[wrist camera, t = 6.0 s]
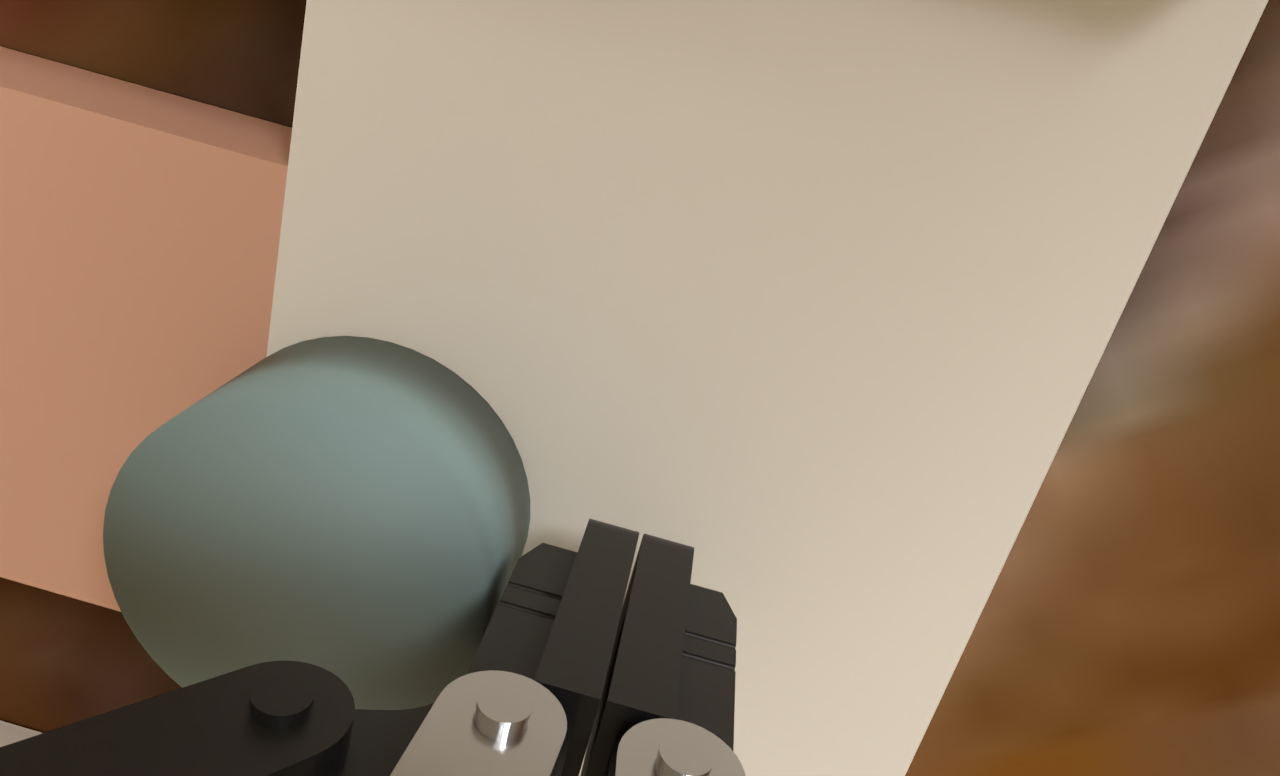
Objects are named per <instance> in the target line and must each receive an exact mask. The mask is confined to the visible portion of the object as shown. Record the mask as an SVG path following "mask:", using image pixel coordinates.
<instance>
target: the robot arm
mask: <svg viewBox="0 0 1280 776" xmlns="http://www.w3.org/2000/svg"><path fill="white" fill-rule="evenodd" d="M638 537H639V532H637V531H633V530H630V529H626V528H622V527H619V526H615V525H612V524H608V523H604V522H601V521H597V520H594V519H589V521H588V524H587V527H586V530H585V533H584V536H583V538H582V541H581V544H580V547H579V550H578V552H574V551H571V550H567V549H564V548H560V547H556V546H553V545H549V544H546V543H541V544H540V545H538V546H537V547H535V548H534V549H532V550H531V551H529V552H528V553H526V554H525V555H523V556H522V557H520V558H519V559H518V561H517V563H516V566H515V568H514V570H513V572H512V574H511V577H510V579H509V581H508V584H507V586H506V588H505V590H504V592H503V594H502V596H501V599H500V601H499V605H497V607H496V610H495V612H494V614H493V616H492V618H491V621H490V623H489V625H488V627H487V629H486V631H485V634H484V636H483V638H482V640H481V642H480V645H479V647H478V649H477V651H476V653H475V656H474V658H473V660H472V662H471V664H470V667H469V669H468V671H467V673H466V675H464V676H462V677H459V678H458V679H456V680H454V681H452V682H451V683H450V684H449V685H447V686H446V687H445V688H444V689H443V691H442V692H441V693H440V695H439V696H438V698H437V700H436V701H435V702H434V703H431V704H428V705H425V706H421V707H417V708H412V709H405V710H365V709H355V704H354V699H353V696H352V693H351V691H350V690H349V688H348V687H347V685H346V684H345V683H344V682H343V681H342V680H341V679H340V678H339V677H337V676H336V675H335V674H333V673H332V672H330V671H328V670H326V669H324V668H322V667H319V666H316V665H313V664H309V663H304V662H299V661H287V660H285V661H270V662H263V663H258V664H255V665H251V666H248V667H244V668H241V669H238V670H235V671H232V672H229V673H226V674H223V675H220V676H217V677H214V678H211V679H208V680H205V681H202V682H199V683H195V684H192V685H189V686H186V687H183V688H180V689H177V690H174V691H171V692H168V693H165V694H162V695H159V696H156V697H153V698H150V699H146V700H143V701H140V702H137V703H134V704H131V705H128V706H125V707H122V708H119V709H116V710H113V711H110V712H107V713H104V714H101V715H97V716H94V717H91V718H88V719H85V720H82V721H79V722H76V723H73V724H70V725H67V726H64V727H61V728H58V729H55V730H52V731H48V732H45V733H42V734H39V735H36V736H33V737H30V738H27V739H24V740H21V741H18V742H15V743H12V744H9V745H6V746H2V747H0V776H579V773H580V770H581V766H582V763H583V766H582V770H581V775H580V776H746V775H745V771H744V769H743V766H742V764H741V762H740V761H739V759H738V757H737V756H736V754H735V753H734V752H733V747H734V711H735V674H736V671H735V666H736V650H735V648H736V637H737V618H736V616H735V614H734V613H733V611H732V609H731V607H730V605H729V603H728V602H727V600H726V598H725V596H724V594H723V593H722V592H718V591H715V590H711V589H708V588H704V587H700V586H697V585H693V584H690V582H691V574H692V565H693V556H694V547H691V546H688V545H684V544H681V543H677V542H673V541H670V540H666V539H663V538H659V537H655V536H652V535H648V534H645V533H644V534H643V537H642V540H641V544H640V547H639V550H638V554H637V557H636V561H635V564H634V568H633V571H632V575H631V578H630V582H629V585H628V580H629V576H630V572H631V567H632V563H633V559H634V554H635V550H636V546H637V541H638ZM627 585H628V589H627ZM626 589H627V592H626ZM625 593H626V596H625ZM624 597H625V599H624ZM623 602H624V603H623ZM585 752H586V753H585ZM584 756H585V758H584ZM583 759H584V762H583Z"/></svg>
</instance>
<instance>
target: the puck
mask: <svg viewBox="0 0 1280 776" xmlns="http://www.w3.org/2000/svg"><path fill="white" fill-rule="evenodd" d="M529 524H530V494H529V487H528V480H527V476H526V473H525V469H524V466H523V462H522V459H521V456H520V454H519V452H518V450H517V447H516V445H515V443H514V440H513V438H512V437H511V435H510V433H509V432H508V430H507V428H506V427H505V425H504V423H503V422H502V420H501V419H500V418H499V416H498V415H497V414H496V412H495V411H494V410H493V408H492V407H491V406H490V405H489V403H488V402H487V401H486V400H485V399H484V398H483V397H482V396H481V395H480V394H479V393H478V392H477V391H476V390H475V389H474V388H473V387H472V386H471V385H470V384H468V383H467V382H466V381H465V380H463V379H462V378H461V377H460V376H458V375H457V374H456V373H455V372H453V371H452V370H450V369H449V368H447V367H445V366H444V365H442V364H441V363H439V362H437V361H436V360H434V359H432V358H430V357H428V356H426V355H424V354H422V353H419V352H417V351H415V350H413V349H410V348H407V347H404V346H401V345H398V344H395V343H392V342H388V341H383V340H379V339H374V338H369V337H356V336H333V337H321V338H316V339H311V340H306V341H302V342H299V343H296V344H293V345H291V346H288V347H285V348H283V349H281V350H279V351H277V352H275V353H273V354H271V355H269V356H267V357H266V358H264V359H263V360H261V361H259V362H258V363H256V364H255V365H253V366H252V367H250V368H249V369H247V370H246V371H244V372H243V373H241V374H239V375H238V376H236V377H235V378H233V379H232V380H230V381H229V382H227V383H226V384H224V385H223V386H221V387H219V388H218V389H216V390H215V391H213V392H212V393H210V394H209V395H207V396H206V397H204V398H203V399H201V400H199V401H198V402H196V403H195V404H193V405H192V406H190V407H189V408H187V409H186V410H184V411H183V412H181V413H179V414H178V415H176V416H175V417H173V418H172V419H170V420H169V421H167V422H166V423H164V424H163V425H161V426H160V427H159V428H157V429H156V430H155V431H153V432H152V433H151V434H149V435H148V436H147V437H146V438H145V439H144V440H143V441H142V442H141V443H140V444H139V445H138V446H137V447H136V448H135V449H134V450H133V451H132V452H131V454H130V455H129V457H128V458H127V460H126V461H125V463H124V464H123V466H122V467H121V469H120V470H119V472H118V475H117V477H116V479H115V481H114V483H113V486H112V488H111V490H110V494H109V498H108V502H107V505H106V509H105V516H104V526H103V547H104V558H105V563H106V569H107V574H108V578H109V581H110V584H111V587H112V590H113V593H114V597H115V599H116V601H117V603H118V606H119V608H120V610H121V612H122V614H123V616H124V618H125V620H126V622H127V624H128V625H129V627H130V628H131V630H132V632H133V633H134V635H135V637H136V638H137V640H138V641H139V642H140V644H141V645H142V646H143V648H144V649H145V650H146V651H147V653H148V654H149V655H150V657H151V658H152V659H153V660H154V661H155V662H156V663H157V664H158V665H159V666H160V668H161V669H162V670H163V671H164V672H165V673H166V674H167V675H168V676H169V677H170V678H171V679H173V680H174V681H175V682H176V683H177V684H178V685H180V686H181V687H182V688H183V687H186V686H189V685H192V684H195V683H199V682H202V681H205V680H208V679H211V678H214V677H217V676H220V675H223V674H226V673H229V672H232V671H235V670H238V669H241V668H244V667H248V666H251V665H255V664H258V663H263V662H270V661H285V660H287V661H299V662H304V663H309V664H313V665H316V666H319V667H322V668H324V669H326V670H328V671H330V672H332V673H333V674H335V675H336V676H337V677H339V678H340V679H341V680H342V681H343V682H344V683H345V684H346V685H347V687H348V688H349V690H350V691H351V693H352V696H353V699H354V704H355V709H365V710H405V709H412V708H417V707H421V706H425V705H428V704H431V703H434V702H435V701H436V700H437V698H438V696H439V695H440V693H441V692H442V691H443V689H444V688H445V687H446V686H447V685H449V684H450V683H451V682H452V681H454V680H456V679H458V678H459V677H462V676H464V675H466V673H467V671H468V669H469V667H470V664H471V662H472V660H473V658H474V656H475V653H476V651H477V649H478V647H479V645H480V642H481V640H482V638H483V636H484V634H485V631H486V629H487V627H488V625H489V623H490V621H491V618H492V616H493V614H494V612H495V610H496V607H497V605H499V601H500V599H501V596H502V594H503V592H504V590H505V588H506V586H507V584H508V581H509V579H510V577H511V574H512V572H513V570H514V568H515V566H516V563H517V561H518V559H519V558H520V557H522V554H523V551H524V547H525V544H526V541H527V537H528V531H529Z"/></svg>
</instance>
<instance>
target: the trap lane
mask: <svg viewBox="0 0 1280 776" xmlns="http://www.w3.org/2000/svg"><path fill="white" fill-rule="evenodd" d="M1267 2H1268V0H307V2H306V11H305V19H304V28H303V37H302V46H301V55H300V64H299V73H298V81H297V90H296V99H295V108H294V117H293V126H292V128H291V127H287V126H283V125H280V124H276V123H273V122H269V121H266V120H262V119H258V118H255V117H251V116H248V115H244V114H241V113H237V112H233V111H230V110H226V109H223V108H219V107H216V106H212V105H208V104H205V103H201V102H198V101H194V100H190V99H187V98H183V97H180V96H176V95H173V94H169V93H165V92H162V91H158V90H155V89H151V88H148V87H144V86H140V85H137V84H133V83H130V82H126V81H123V80H119V79H115V78H112V77H108V76H105V75H101V74H98V73H94V72H90V71H87V70H83V69H80V68H76V67H73V66H69V65H65V64H62V63H58V62H55V61H51V60H47V59H44V58H40V57H37V56H33V55H30V54H26V53H22V52H19V51H15V50H12V49H8V48H5V47H1V46H0V577H2V578H6V579H9V580H12V581H16V582H19V583H23V584H26V585H30V586H33V587H37V588H40V589H44V590H47V591H50V592H54V593H57V594H61V595H64V596H68V597H71V598H75V599H78V600H82V601H85V602H88V603H92V604H95V605H99V606H102V607H106V608H109V609H113V610H116V611H120V612H121V610H120V608H119V606H118V603H117V601H116V599H115V597H114V593H113V590H112V587H111V584H110V581H109V578H108V574H107V569H106V563H105V558H104V547H103V526H104V516H105V509H106V505H107V502H108V498H109V494H110V490H111V488H112V486H113V483H114V481H115V479H116V477H117V475H118V472H119V470H120V469H121V467H122V466H123V464H124V463H125V461H126V460H127V458H128V457H129V455H130V454H131V452H132V451H133V450H134V449H135V448H136V447H137V446H138V445H139V444H140V443H141V442H142V441H143V440H144V439H145V438H146V437H147V436H148V435H149V434H151V433H152V432H153V431H155V430H156V429H157V428H159V427H160V426H161V425H163V424H164V423H166V422H167V421H169V420H170V419H172V418H173V417H175V416H176V415H178V414H179V413H181V412H183V411H184V410H186V409H187V408H189V407H190V406H192V405H193V404H195V403H196V402H198V401H199V400H201V399H203V398H204V397H206V396H207V395H209V394H210V393H212V392H213V391H215V390H216V389H218V388H219V387H221V386H223V385H224V384H226V383H227V382H229V381H230V380H232V379H233V378H235V377H236V376H238V375H239V374H241V373H243V372H244V371H246V370H247V369H249V368H250V367H252V366H253V365H255V364H256V363H258V362H259V361H261V360H263V359H264V358H266V357H267V356H269V355H271V354H273V353H275V352H277V351H279V350H281V349H283V348H285V347H288V346H291V345H293V344H296V343H299V342H302V341H306V340H311V339H316V338H321V337H333V336H356V337H369V338H374V339H379V340H383V341H388V342H392V343H395V344H398V345H401V346H404V347H407V348H410V349H413V350H415V351H417V352H419V353H422V354H424V355H426V356H428V357H430V358H432V359H434V360H436V361H437V362H439V363H441V364H442V365H444V366H445V367H447V368H449V369H450V370H452V371H453V372H455V373H456V374H457V375H458V376H460V377H461V378H462V379H463V380H465V381H466V382H467V383H468V384H470V385H471V386H472V387H473V388H474V389H475V390H476V391H477V392H478V393H479V394H480V395H481V396H482V397H483V398H484V399H485V400H486V401H487V402H488V403H489V405H490V406H491V407H492V408H493V410H494V411H495V412H496V414H497V415H498V416H499V418H500V419H501V420H502V422H503V423H504V425H505V427H506V428H507V430H508V432H509V433H510V435H511V437H512V438H513V440H514V443H515V445H516V447H517V450H518V452H519V454H520V456H521V459H522V462H523V466H524V469H525V473H526V476H527V480H528V487H529V494H530V524H529V531H528V537H527V541H526V544H525V547H524V551H523V554H522V556H523V555H525V554H526V553H528V552H529V551H531V550H532V549H534V548H535V547H537V546H538V545H540V544H541V543H546V544H549V545H553V546H556V547H560V548H564V549H567V550H571V551H574V552H578V550H579V547H580V544H581V541H582V538H583V536H584V533H585V530H586V527H587V524H588V521H589V519H594V520H597V521H601V522H604V523H608V524H612V525H615V526H619V527H622V528H626V529H630V530H633V531H637V532H639V537H638V541H637V546H636V550H635V554H634V559H633V563H632V567H631V572H630V576H629V580H628V585H629V582H630V578H631V575H632V571H633V568H634V564H635V561H636V557H637V554H638V550H639V547H640V544H641V540H642V537H643V534H644V533H645V534H648V535H652V536H655V537H659V538H663V539H666V540H670V541H673V542H677V543H681V544H684V545H688V546H691V547H694V556H693V565H692V574H691V582H690V584H693V585H697V586H700V587H704V588H708V589H711V590H715V591H718V592H722V593H723V594H724V596H725V598H726V600H727V602H728V603H729V605H730V607H731V609H732V611H733V613H734V614H735V616H736V618H737V637H736V648H735V650H736V666H735V671H736V674H735V711H734V747H733V752H734V753H735V754H736V756H737V757H738V759H739V761H740V762H741V764H742V766H743V769H744V771H745V775H746V776H905V774H906V772H907V770H908V768H909V766H910V764H911V762H912V760H913V757H914V755H915V753H916V751H917V749H918V747H919V745H920V742H921V740H922V738H923V736H924V734H925V732H926V730H927V728H928V725H929V723H930V721H931V719H932V717H933V715H934V713H935V710H936V708H937V706H938V704H939V702H940V700H941V698H942V696H943V693H944V691H945V689H946V687H947V685H948V683H949V681H950V678H951V676H952V674H953V672H954V670H955V668H956V666H957V664H958V661H959V659H960V657H961V655H962V653H963V651H964V649H965V646H966V644H967V642H968V640H969V638H970V636H971V634H972V632H973V629H974V627H975V625H976V623H977V621H978V619H979V617H980V614H981V612H982V610H983V608H984V606H985V604H986V602H987V600H988V597H989V595H990V593H991V591H992V589H993V587H994V585H995V582H996V580H997V578H998V576H999V574H1000V572H1001V570H1002V568H1003V565H1004V563H1005V561H1006V559H1007V557H1008V555H1009V553H1010V550H1011V548H1012V546H1013V544H1014V542H1015V540H1016V538H1017V536H1018V533H1019V531H1020V529H1021V527H1022V525H1023V523H1024V521H1025V519H1026V516H1027V514H1028V512H1029V510H1030V508H1031V506H1032V504H1033V501H1034V499H1035V497H1036V495H1037V493H1038V491H1039V489H1040V487H1041V484H1042V482H1043V480H1044V478H1045V476H1046V474H1047V472H1048V469H1049V467H1050V465H1051V463H1052V461H1053V459H1054V457H1055V455H1056V452H1057V450H1058V448H1059V446H1060V444H1061V442H1062V440H1063V437H1064V435H1065V433H1066V431H1067V429H1068V427H1069V425H1070V423H1071V420H1072V418H1073V416H1074V414H1075V412H1076V410H1077V408H1078V405H1079V403H1080V401H1081V399H1082V397H1083V395H1084V393H1085V391H1086V388H1087V386H1088V384H1089V382H1090V380H1091V378H1092V376H1093V373H1094V371H1095V369H1096V367H1097V365H1098V363H1099V361H1100V359H1101V356H1102V354H1103V352H1104V350H1105V348H1106V346H1107V344H1108V341H1109V339H1110V337H1111V335H1112V333H1113V331H1114V329H1115V327H1116V324H1117V322H1118V320H1119V318H1120V316H1121V314H1122V312H1123V309H1124V307H1125V305H1126V303H1127V301H1128V299H1129V297H1130V295H1131V292H1132V290H1133V288H1134V286H1135V284H1136V282H1137V280H1138V277H1139V275H1140V273H1141V271H1142V269H1143V267H1144V265H1145V263H1146V260H1147V258H1148V256H1149V254H1150V252H1151V250H1152V248H1153V246H1154V243H1155V241H1156V239H1157V237H1158V235H1159V233H1160V231H1161V228H1162V226H1163V224H1164V222H1165V220H1166V218H1167V216H1168V214H1169V211H1170V209H1171V207H1172V205H1173V203H1174V201H1175V199H1176V196H1177V194H1178V192H1179V190H1180V188H1181V186H1182V184H1183V182H1184V179H1185V177H1186V175H1187V173H1188V171H1189V169H1190V167H1191V164H1192V162H1193V160H1194V158H1195V156H1196V154H1197V152H1198V150H1199V147H1200V145H1201V143H1202V141H1203V139H1204V137H1205V135H1206V132H1207V130H1208V128H1209V126H1210V124H1211V122H1212V120H1213V118H1214V115H1215V113H1216V111H1217V109H1218V107H1219V105H1220V103H1221V100H1222V98H1223V96H1224V94H1225V92H1226V90H1227V88H1228V86H1229V83H1230V81H1231V79H1232V77H1233V75H1234V73H1235V71H1236V68H1237V66H1238V64H1239V62H1240V60H1241V58H1242V56H1243V54H1244V51H1245V49H1246V47H1247V45H1248V43H1249V41H1250V39H1251V36H1252V34H1253V32H1254V30H1255V28H1256V26H1257V24H1258V22H1259V19H1260V17H1261V15H1262V13H1263V11H1264V9H1265V7H1266V4H1267ZM628 585H627V589H628ZM627 589H626V592H627ZM625 596H626V593H625ZM624 599H625V597H624ZM623 603H624V602H623ZM39 734H42V733H41V732H38V731H35V730H31V729H28V728H24V727H21V726H17V725H14V724H11V723H7V722H4V721H0V747H2V746H6V745H9V744H12V743H15V742H18V741H21V740H24V739H27V738H30V737H33V736H36V735H39ZM585 753H586V752H585ZM584 758H585V756H584ZM583 762H584V759H583ZM582 766H583V763H582ZM582 766H581V770H582ZM581 770H580V773H579V776H580V775H581Z"/></svg>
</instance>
